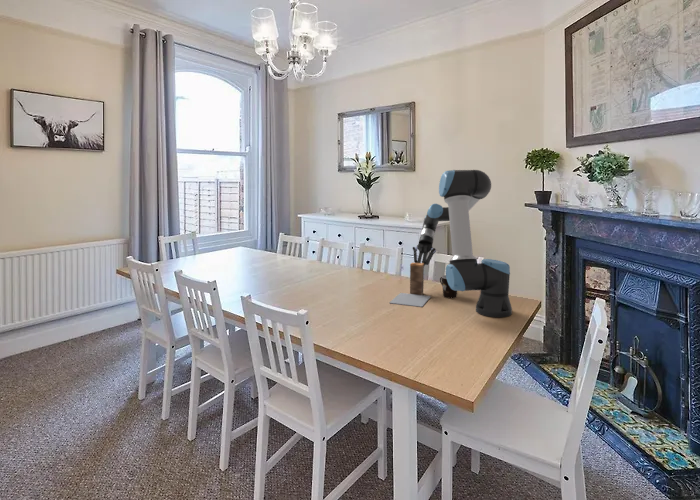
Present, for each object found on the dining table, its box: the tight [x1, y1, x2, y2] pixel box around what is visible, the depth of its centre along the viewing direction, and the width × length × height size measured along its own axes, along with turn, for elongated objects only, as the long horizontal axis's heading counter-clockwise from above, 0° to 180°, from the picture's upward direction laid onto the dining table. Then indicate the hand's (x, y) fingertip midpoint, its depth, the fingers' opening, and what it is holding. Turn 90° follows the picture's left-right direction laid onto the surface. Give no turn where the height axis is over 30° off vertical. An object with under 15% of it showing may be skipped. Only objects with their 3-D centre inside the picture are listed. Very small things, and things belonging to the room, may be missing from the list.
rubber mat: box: [389, 292, 432, 308], centre depth 199 cm, size 16×18×1 cm
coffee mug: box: [439, 274, 458, 299], centre depth 204 cm, size 12×9×10 cm
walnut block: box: [409, 262, 425, 295], centre depth 207 cm, size 6×4×16 cm, turn 66°
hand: (418, 274), depth 211 cm, fingers closed
